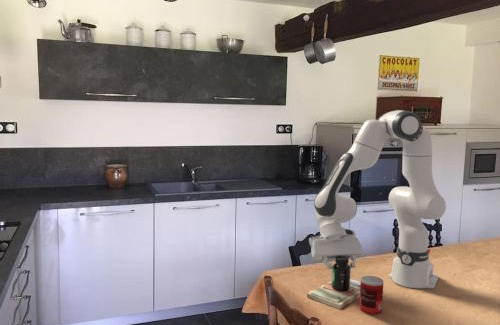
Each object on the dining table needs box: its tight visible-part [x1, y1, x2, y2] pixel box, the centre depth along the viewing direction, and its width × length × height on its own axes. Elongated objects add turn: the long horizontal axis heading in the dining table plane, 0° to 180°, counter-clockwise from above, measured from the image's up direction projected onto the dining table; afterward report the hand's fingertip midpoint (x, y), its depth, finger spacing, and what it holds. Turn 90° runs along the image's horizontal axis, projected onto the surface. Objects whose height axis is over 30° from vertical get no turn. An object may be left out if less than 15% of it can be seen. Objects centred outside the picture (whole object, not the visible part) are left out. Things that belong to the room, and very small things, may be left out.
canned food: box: [359, 275, 384, 315], centre depth 151 cm, size 8×8×11 cm
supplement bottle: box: [331, 256, 352, 291], centre depth 165 cm, size 7×7×12 cm
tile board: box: [306, 278, 361, 310], centre depth 165 cm, size 24×14×2 cm, turn 138°
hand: (341, 268), depth 164 cm, fingers open, 8 cm apart
